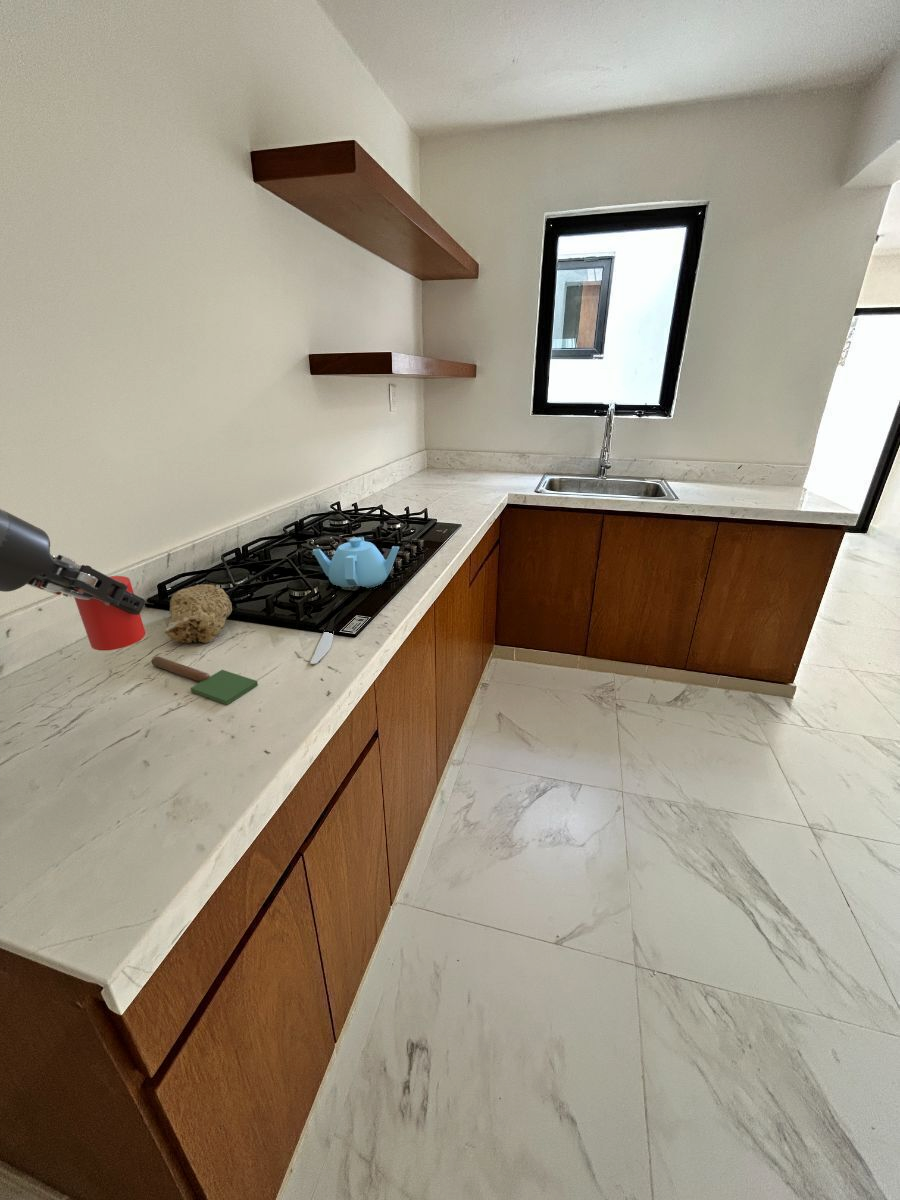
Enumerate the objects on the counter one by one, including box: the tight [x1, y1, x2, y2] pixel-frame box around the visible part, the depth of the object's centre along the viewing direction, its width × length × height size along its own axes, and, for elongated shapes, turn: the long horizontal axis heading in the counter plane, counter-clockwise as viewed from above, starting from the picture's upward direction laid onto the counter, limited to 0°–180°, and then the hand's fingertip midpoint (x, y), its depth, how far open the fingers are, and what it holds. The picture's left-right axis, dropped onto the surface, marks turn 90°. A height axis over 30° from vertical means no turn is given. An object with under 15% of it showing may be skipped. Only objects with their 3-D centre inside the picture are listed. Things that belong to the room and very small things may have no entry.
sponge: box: [164, 583, 233, 644], centre depth 98 cm, size 13×8×20 cm
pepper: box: [73, 575, 146, 651], centre depth 62 cm, size 6×6×9 cm
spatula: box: [150, 656, 259, 706], centre depth 80 cm, size 21×6×2 cm, turn 63°
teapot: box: [312, 536, 400, 588], centre depth 116 cm, size 15×15×11 cm
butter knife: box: [309, 631, 334, 665], centre depth 96 cm, size 1×27×3 cm
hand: (122, 603), depth 64 cm, fingers closed on pepper, 6 cm apart
